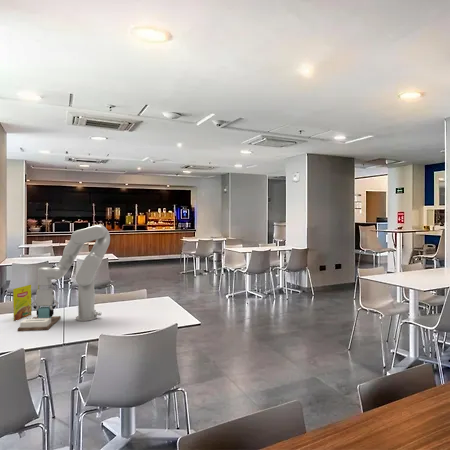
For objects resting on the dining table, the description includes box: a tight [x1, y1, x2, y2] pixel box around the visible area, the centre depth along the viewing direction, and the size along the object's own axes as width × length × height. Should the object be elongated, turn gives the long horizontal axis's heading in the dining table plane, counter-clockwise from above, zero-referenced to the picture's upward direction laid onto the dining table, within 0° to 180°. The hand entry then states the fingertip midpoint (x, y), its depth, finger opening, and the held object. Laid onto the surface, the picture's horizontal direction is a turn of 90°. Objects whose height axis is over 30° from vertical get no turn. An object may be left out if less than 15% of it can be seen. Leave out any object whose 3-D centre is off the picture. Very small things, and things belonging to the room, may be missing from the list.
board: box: [17, 315, 62, 332], centre depth 222 cm, size 16×24×2 cm, turn 8°
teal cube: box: [38, 306, 52, 318], centre depth 229 cm, size 6×6×6 cm
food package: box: [12, 284, 32, 322], centre depth 235 cm, size 15×1×20 cm, turn 168°
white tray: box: [19, 317, 51, 328], centre depth 215 cm, size 14×8×3 cm, turn 98°
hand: (45, 316), depth 229 cm, fingers open, 6 cm apart
